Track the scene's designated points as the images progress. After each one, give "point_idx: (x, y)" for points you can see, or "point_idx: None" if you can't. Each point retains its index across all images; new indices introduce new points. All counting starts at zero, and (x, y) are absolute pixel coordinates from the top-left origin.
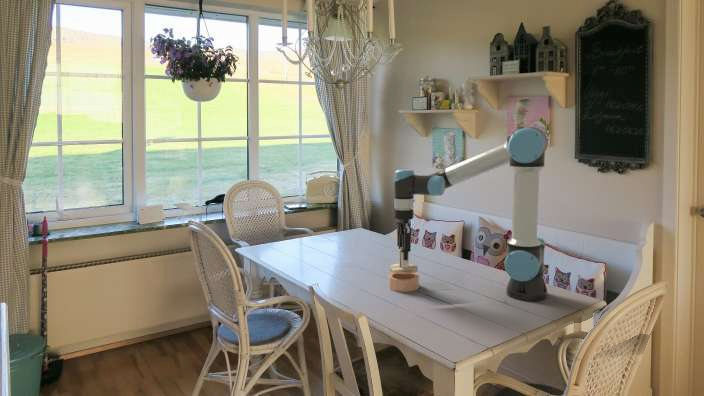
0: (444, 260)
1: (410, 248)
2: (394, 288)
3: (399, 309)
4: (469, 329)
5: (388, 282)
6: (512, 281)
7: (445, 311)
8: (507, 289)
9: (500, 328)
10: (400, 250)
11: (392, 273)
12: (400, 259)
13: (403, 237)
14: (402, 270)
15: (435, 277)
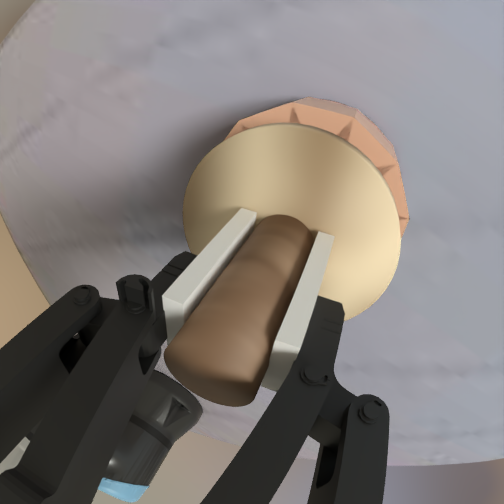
0: (477, 446)
1: (74, 348)
2: (271, 108)
3: (102, 60)
4: (15, 184)
5: (347, 109)
6: (142, 401)
7: (77, 193)
8: (162, 386)
9: (25, 236)
10: (212, 320)
11: (391, 178)
12: (255, 252)
13: (35, 445)
14: (199, 184)
15: (386, 372)
